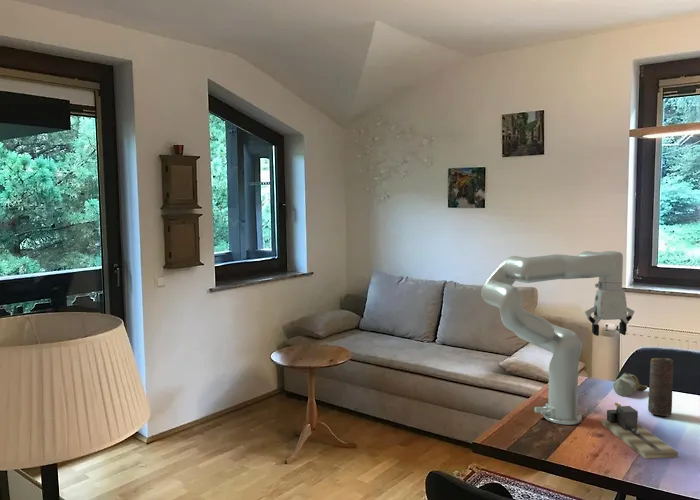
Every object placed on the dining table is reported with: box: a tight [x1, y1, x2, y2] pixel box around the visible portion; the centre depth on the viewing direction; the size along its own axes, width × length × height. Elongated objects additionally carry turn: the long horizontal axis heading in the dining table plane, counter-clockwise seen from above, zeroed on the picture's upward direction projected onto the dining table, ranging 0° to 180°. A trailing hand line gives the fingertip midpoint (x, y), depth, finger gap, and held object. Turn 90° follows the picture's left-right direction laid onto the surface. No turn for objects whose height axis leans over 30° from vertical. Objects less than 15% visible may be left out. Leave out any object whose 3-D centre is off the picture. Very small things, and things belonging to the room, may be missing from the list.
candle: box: [647, 357, 674, 417], centre depth 201 cm, size 8×7×20 cm
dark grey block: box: [617, 405, 640, 435], centre depth 185 cm, size 9×4×6 cm, turn 3°
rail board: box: [601, 418, 679, 459], centre depth 182 cm, size 26×10×2 cm, turn 3°
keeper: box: [606, 402, 622, 423], centre depth 193 cm, size 4×7×6 cm, turn 93°
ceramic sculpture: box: [612, 371, 649, 397], centre depth 224 cm, size 11×9×15 cm
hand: (609, 334), depth 202 cm, fingers open, 9 cm apart
